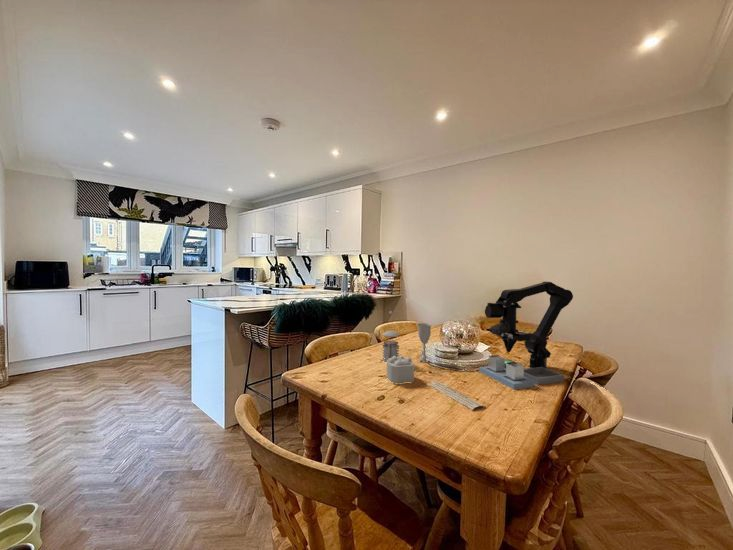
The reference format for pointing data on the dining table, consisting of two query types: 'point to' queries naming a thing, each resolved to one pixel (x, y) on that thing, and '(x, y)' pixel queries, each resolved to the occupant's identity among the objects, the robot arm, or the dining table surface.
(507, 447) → the dining table surface
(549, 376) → the tray
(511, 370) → the block
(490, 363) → the block
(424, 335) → the chalice
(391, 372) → the fruit punnet
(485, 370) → the pallet
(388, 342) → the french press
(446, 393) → the grooved grey strip
